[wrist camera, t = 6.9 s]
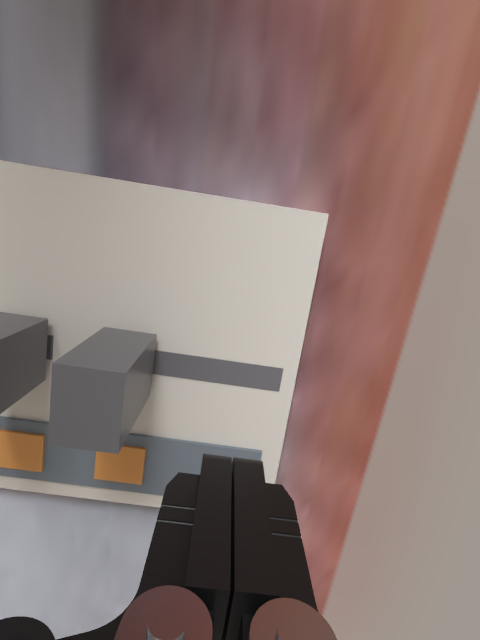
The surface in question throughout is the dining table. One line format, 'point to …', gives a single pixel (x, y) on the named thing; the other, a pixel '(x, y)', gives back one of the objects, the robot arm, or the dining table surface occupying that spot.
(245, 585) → the robot arm
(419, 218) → the dining table surface
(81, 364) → the slider
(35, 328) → the slider middle
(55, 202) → the switch panel
